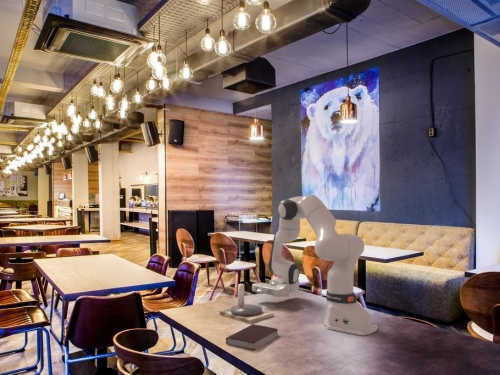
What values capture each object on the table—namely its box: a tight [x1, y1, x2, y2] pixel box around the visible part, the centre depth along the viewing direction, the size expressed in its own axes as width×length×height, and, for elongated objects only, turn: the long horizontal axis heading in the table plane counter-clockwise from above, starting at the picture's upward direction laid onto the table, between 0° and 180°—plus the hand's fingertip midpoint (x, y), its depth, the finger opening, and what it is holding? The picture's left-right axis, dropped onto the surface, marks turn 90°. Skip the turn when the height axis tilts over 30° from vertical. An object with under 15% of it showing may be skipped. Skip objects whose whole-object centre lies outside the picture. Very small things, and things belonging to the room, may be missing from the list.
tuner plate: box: [219, 307, 274, 324], centre depth 181 cm, size 20×16×2 cm
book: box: [225, 323, 279, 351], centre depth 150 cm, size 12×19×3 cm, turn 148°
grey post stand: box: [230, 283, 263, 315], centre depth 183 cm, size 17×15×11 cm
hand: (258, 292), depth 196 cm, fingers closed
